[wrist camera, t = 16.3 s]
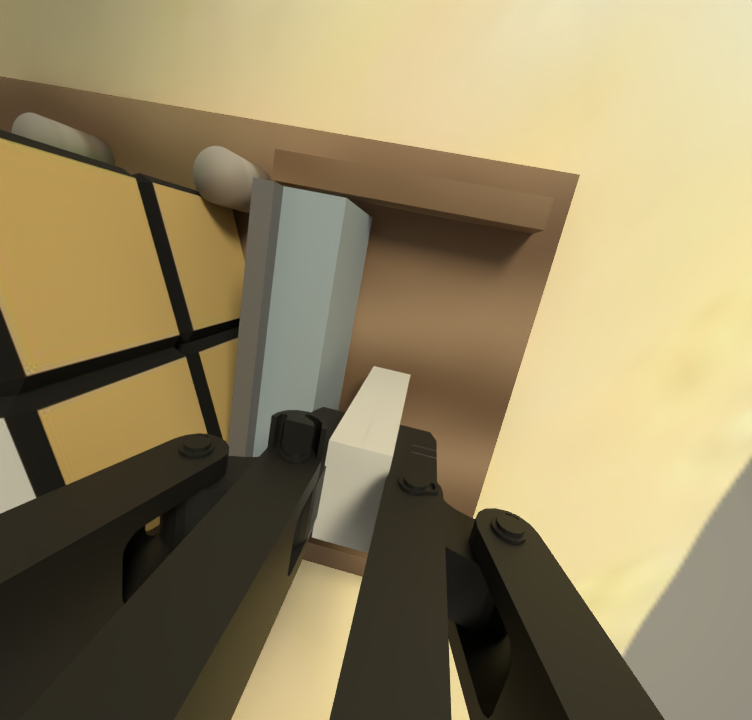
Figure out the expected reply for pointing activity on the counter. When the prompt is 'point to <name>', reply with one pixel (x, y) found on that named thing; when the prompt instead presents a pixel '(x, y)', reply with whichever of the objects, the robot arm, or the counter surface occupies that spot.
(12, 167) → the puzzle cube
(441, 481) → the base
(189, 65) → the counter surface
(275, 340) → the bar
